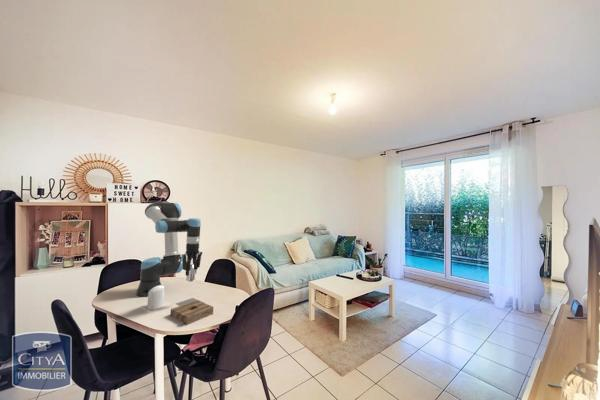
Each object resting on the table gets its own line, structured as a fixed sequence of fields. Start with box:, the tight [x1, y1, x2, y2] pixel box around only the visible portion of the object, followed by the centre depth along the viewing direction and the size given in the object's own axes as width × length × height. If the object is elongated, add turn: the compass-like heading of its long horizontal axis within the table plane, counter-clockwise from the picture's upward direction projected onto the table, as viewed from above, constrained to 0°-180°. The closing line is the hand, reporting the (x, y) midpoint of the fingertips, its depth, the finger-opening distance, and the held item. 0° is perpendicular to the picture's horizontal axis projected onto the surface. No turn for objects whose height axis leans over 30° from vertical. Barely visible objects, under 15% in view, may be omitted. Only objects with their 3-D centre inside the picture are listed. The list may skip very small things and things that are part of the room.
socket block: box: [169, 299, 214, 325], centre depth 133 cm, size 16×16×4 cm
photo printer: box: [146, 284, 165, 311], centre depth 142 cm, size 10×4×12 cm, turn 172°
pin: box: [188, 263, 194, 283], centre depth 149 cm, size 3×3×10 cm
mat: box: [175, 297, 205, 306], centre depth 148 cm, size 12×12×1 cm
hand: (190, 279), depth 149 cm, fingers closed on pin, 3 cm apart
